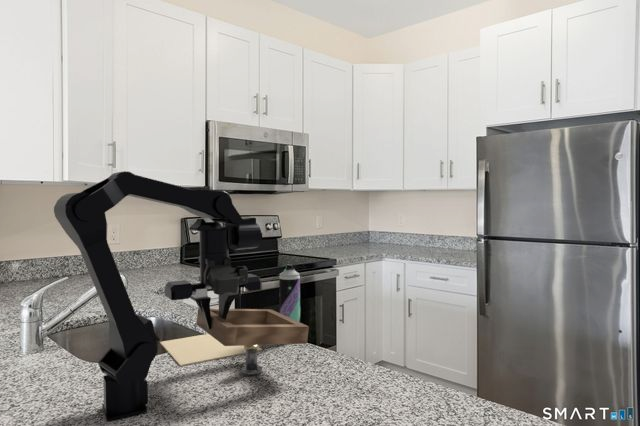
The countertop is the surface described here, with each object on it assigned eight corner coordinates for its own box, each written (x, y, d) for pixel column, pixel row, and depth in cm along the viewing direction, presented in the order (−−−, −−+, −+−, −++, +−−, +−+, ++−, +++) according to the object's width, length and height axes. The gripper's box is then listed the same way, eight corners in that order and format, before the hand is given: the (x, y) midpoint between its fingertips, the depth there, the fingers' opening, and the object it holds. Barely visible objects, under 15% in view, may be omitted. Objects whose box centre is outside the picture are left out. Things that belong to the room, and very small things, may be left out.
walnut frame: (224, 346, 83) (227, 327, 83) (196, 324, 98) (198, 308, 99) (307, 343, 93) (309, 326, 93) (269, 323, 108) (271, 309, 108)
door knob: (246, 377, 93) (245, 349, 93) (238, 371, 97) (238, 343, 97) (265, 373, 95) (265, 345, 95) (257, 366, 99) (256, 340, 99)
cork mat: (180, 366, 100) (180, 365, 100) (160, 343, 117) (160, 341, 117) (262, 350, 110) (262, 348, 110) (232, 330, 127) (232, 329, 127)
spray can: (275, 339, 119) (274, 264, 119) (291, 334, 123) (290, 262, 123) (289, 343, 115) (288, 266, 115) (304, 339, 119) (304, 264, 119)
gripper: (178, 259, 79) (179, 346, 80) (272, 252, 89) (273, 329, 90) (163, 253, 89) (164, 331, 89) (250, 248, 99) (251, 318, 99)
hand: (215, 327), depth 91 cm, fingers closed on walnut frame, 2 cm apart
